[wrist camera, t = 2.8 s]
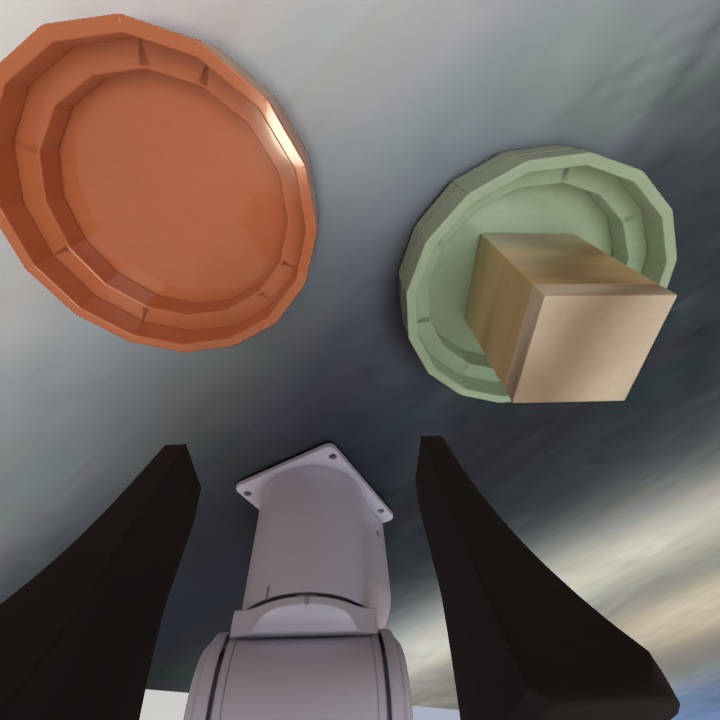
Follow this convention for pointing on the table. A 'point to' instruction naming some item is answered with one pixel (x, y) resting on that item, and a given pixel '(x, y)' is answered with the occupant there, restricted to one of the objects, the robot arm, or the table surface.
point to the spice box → (562, 317)
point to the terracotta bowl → (152, 183)
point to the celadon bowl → (521, 216)
